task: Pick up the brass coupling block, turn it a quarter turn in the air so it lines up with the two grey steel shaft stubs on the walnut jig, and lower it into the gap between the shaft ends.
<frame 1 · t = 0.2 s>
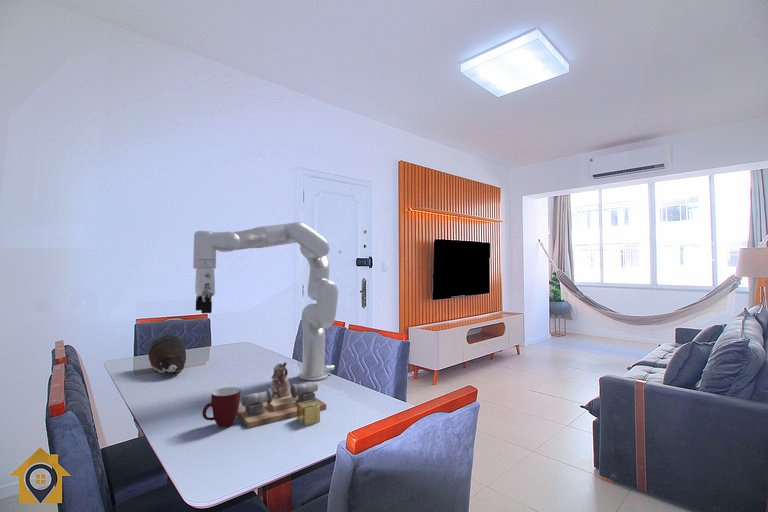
hand: (203, 311, 136), 31 cm above the table, fingers open, 9 cm apart
mug: (221, 426, 112), on the table
clay pot: (168, 373, 166), on the table
shaft jig: (281, 411, 124), on the table
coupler: (308, 420, 117), on the table
figurine: (279, 396, 138), on the table
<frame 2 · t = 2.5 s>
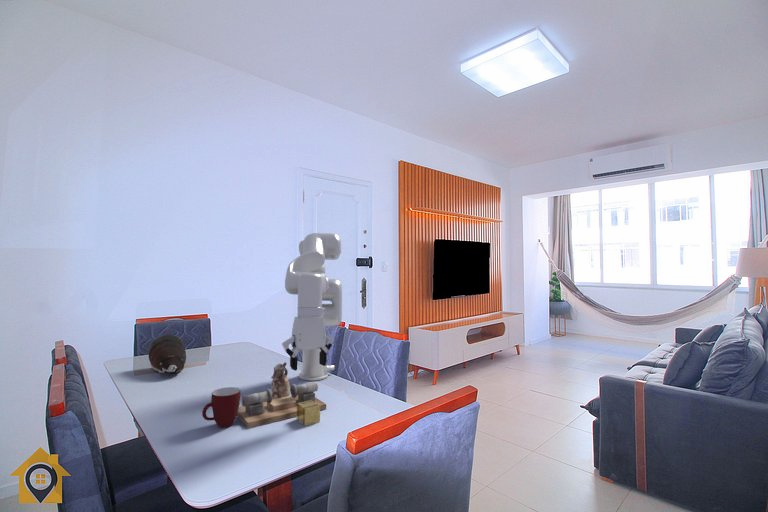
hand: (308, 367, 117), 16 cm above the table, fingers open, 9 cm apart
nothing on the table moved.
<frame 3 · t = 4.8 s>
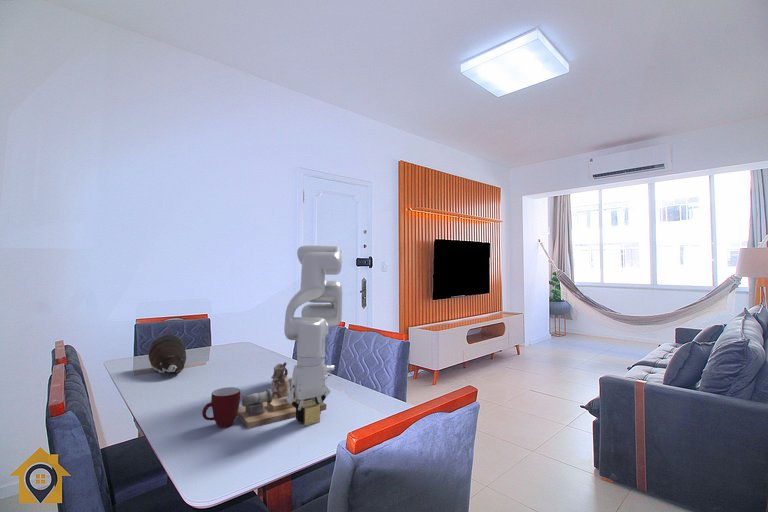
hand: (308, 418, 117), 0 cm above the table, fingers closed on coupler, 5 cm apart
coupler: (308, 420, 117), on the table, touching gripper
everything else where it was.
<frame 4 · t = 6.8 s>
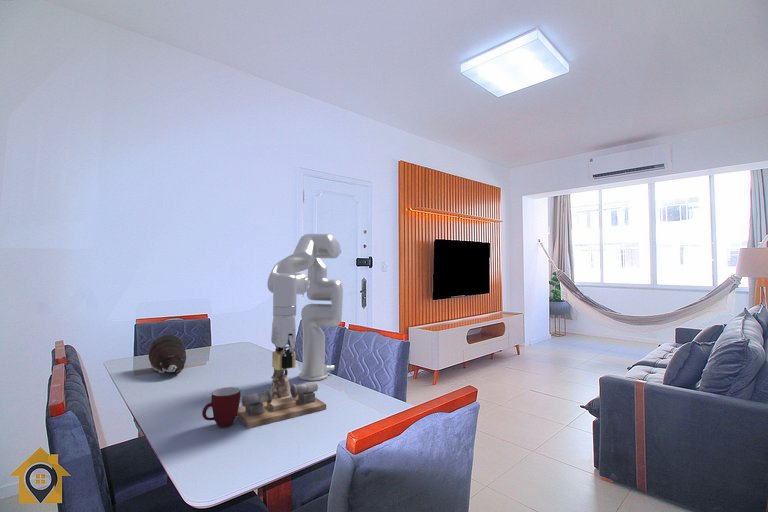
hand: (283, 365, 124), 15 cm above the table, fingers closed on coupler, 5 cm apart
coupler: (283, 367, 124), point 15 cm above the table, touching gripper
everything else where it was.
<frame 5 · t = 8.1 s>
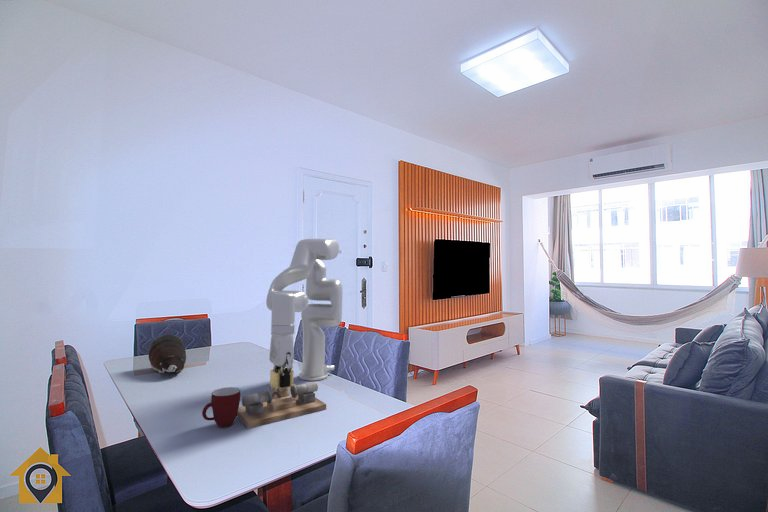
hand: (281, 384, 124), 9 cm above the table, fingers closed on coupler, 5 cm apart
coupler: (281, 385, 124), point 8 cm above the table, touching gripper
everything else where it was.
when the fingers open (5 cm above the table, at t = 9.2 s): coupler drops 1 cm, resting on shaft jig.
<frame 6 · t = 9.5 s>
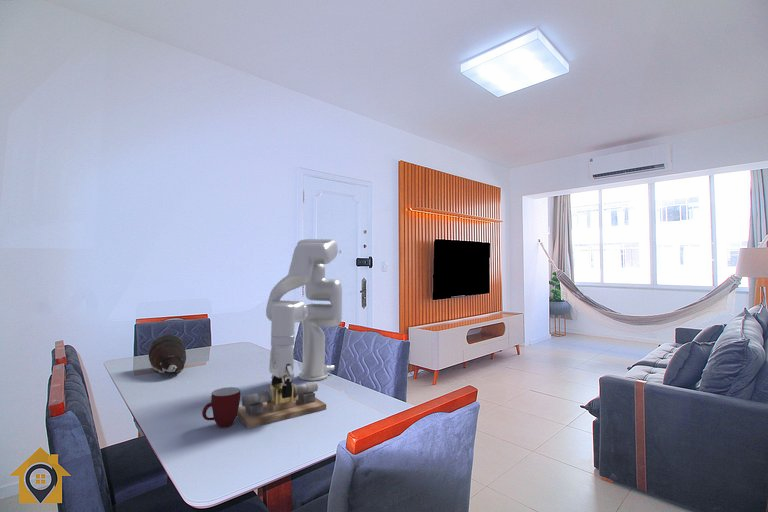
hand: (281, 393, 124), 6 cm above the table, fingers open, 8 cm apart
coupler: (281, 400, 124), point 3 cm above the table, touching shaft jig
everything else where it was.
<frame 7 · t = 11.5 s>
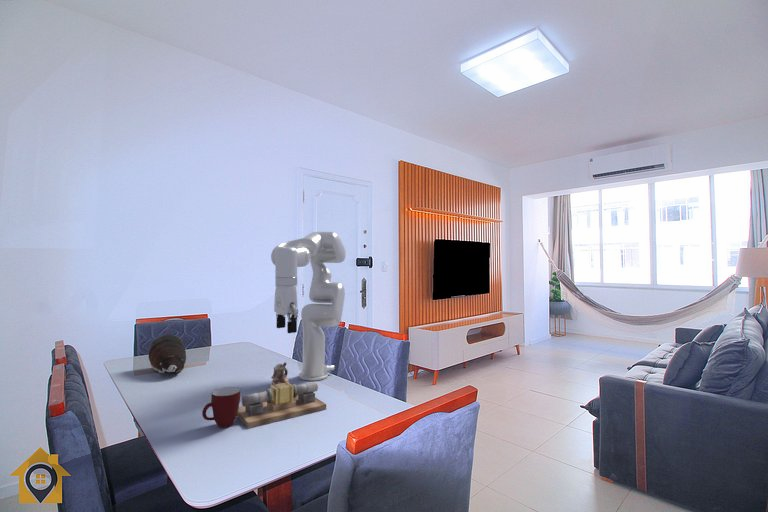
hand: (286, 330, 133), 25 cm above the table, fingers open, 9 cm apart
nothing on the table moved.
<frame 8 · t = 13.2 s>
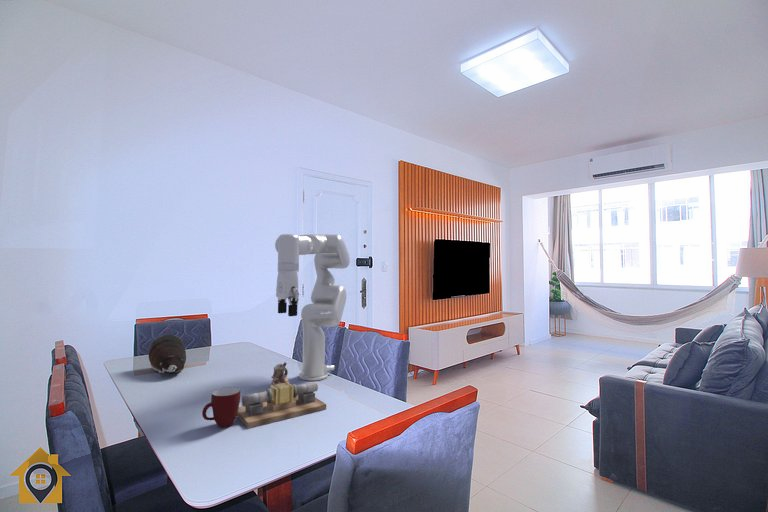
hand: (287, 314, 137), 30 cm above the table, fingers open, 9 cm apart
nothing on the table moved.
at the end: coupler 0.1 cm off-centre on the shaft jig, point 3.3 cm above the shaft jig's base; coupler tilted 0°; the gripper is holding nothing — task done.
